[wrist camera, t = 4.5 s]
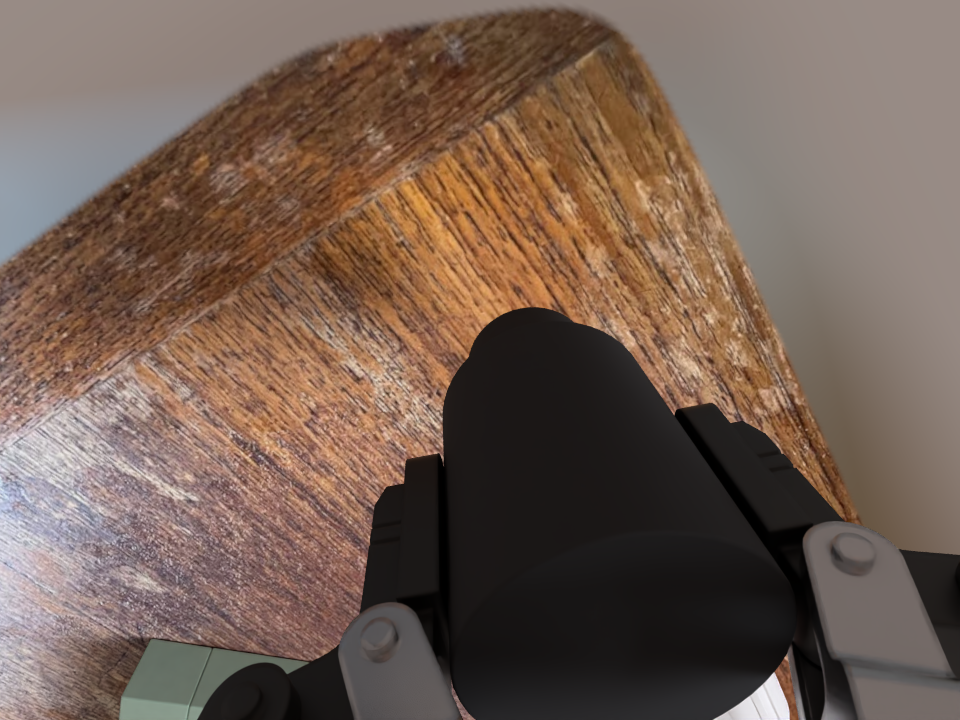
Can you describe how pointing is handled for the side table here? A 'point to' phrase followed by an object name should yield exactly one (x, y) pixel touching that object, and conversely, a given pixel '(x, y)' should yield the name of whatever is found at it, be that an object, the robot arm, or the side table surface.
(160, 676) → the green block with hole
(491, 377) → the stopper
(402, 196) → the side table surface
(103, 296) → the side table surface
